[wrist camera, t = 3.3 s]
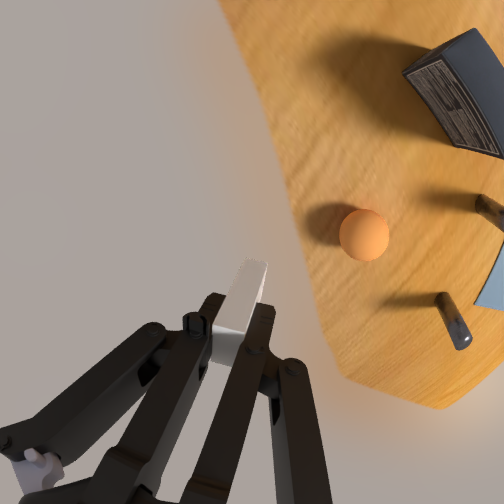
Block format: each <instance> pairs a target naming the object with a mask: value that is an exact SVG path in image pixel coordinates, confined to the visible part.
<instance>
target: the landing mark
mask: <svg viewBox="0 0 504 504" xmlns="http://www.w3.org/2000/svg"><path fill="white" fill-rule="evenodd" d="M474 305H477V306H482V307H487V308H492V309H496V310H501V311H504V244H503V246H502V248H501V251H500V253H499V256H498V258H497V260H496V262H495V265H494V267H493V269H492V271H491V273H490V275H489V277H488V279H487V281H486V283H485V285H484V287H483V289H482V291H481V293H480V295H479V296H478V298H477V300H476V302H475V304H474Z"/></svg>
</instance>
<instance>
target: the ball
mask: <svg viewBox="0 0 504 504" xmlns="http://www.w3.org/2000/svg"><path fill="white" fill-rule="evenodd" d="M339 239H340V243H341V246H342V248H343V250H344V251H345V252H346V253H347V254H348V255H349V256H350V257H351V258H353V259H355V260H358V261H371V260H374V259H376V258H377V257H379V256H380V255H381V254H382V253H383V252H384V251H385V249H386V247H387V245H388V241H389V230H388V227H387V224H386V222H385V221H384V219H383V218H382V217H381V216H380V215H379V214H377V213H376V212H374V211H371V210H367V209H361V210H356V211H354V212H352V213H350V214H349V215H348V216H347V217H346V218H345V219H344V220H343V222H342V224H341V227H340V231H339Z"/></svg>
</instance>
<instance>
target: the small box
mask: <svg viewBox="0 0 504 504" xmlns="http://www.w3.org/2000/svg"><path fill="white" fill-rule="evenodd" d="M402 74H403V76H404V77H405V78H406V79H407V80H408V82H409V83H410V84H411V85H412V87H413V88H414V89H415V90H416V92H417V93H418V94H419V95H420V97H421V98H422V99H423V101H424V102H425V103H426V105H427V106H428V107H429V109H430V110H431V112H432V113H433V115H434V116H435V117H436V119H437V120H438V122H439V123H440V125H441V126H442V128H443V129H444V131H445V133H446V134H447V136H448V137H449V139H450V140H451V142H452V144H453V145H454V147H456V148H462V149H467V150H471V151H475V152H479V153H482V154H486V155H489V156H493V157H497V158H500V159H503V160H504V67H503V66H502V64H501V63H500V61H499V60H498V58H497V57H496V55H495V54H494V52H493V51H492V49H491V48H490V46H489V45H488V43H487V42H486V41H485V39H484V38H483V37H482V35H481V34H480V33H479V31H478V30H477V29H476V28H473V29H470V30H468V31H466V32H465V33H463V34H461V35H459V36H457V37H455V38H453V39H451V40H449V41H447V42H445V43H443V44H442V45H440V46H438V47H436V48H434V49H432V50H430V51H429V52H428V53H426V54H425V55H424V56H422V57H421V58H420V59H418V60H417V61H416V62H414V63H413V64H412V65H411V66H409V67H408V68H407V69H405V70H404V71H403V72H402Z"/></svg>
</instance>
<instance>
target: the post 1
mask: <svg viewBox="0 0 504 504" xmlns="http://www.w3.org/2000/svg"><path fill="white" fill-rule="evenodd" d="M435 305H436V307H437V309H438V311H439V313H440V315H441V317H442V319H443V322H444V324H445V326H446V328H447V330H448V332H449V335H450V337H451V339H452V342H453V344H454V346H455V349H456V350H463V349H465V348H466V347H468V346H469V345H470V343H471V342H472V339H473V337H472V335H471V333H470V331H469V329H468V327H467V325H466V323H465V322H464V320H463V318H462V316H461V314H460V312H459V311H458V309H457V307H456V305H455V303H454V302H453V300H452V298H451V297H450V295H449V293H447V292H442V293H440V294H439V295H438V296H437V297H436V299H435Z"/></svg>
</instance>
